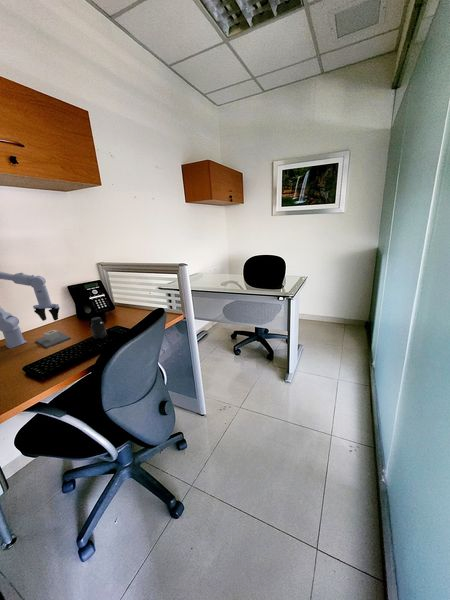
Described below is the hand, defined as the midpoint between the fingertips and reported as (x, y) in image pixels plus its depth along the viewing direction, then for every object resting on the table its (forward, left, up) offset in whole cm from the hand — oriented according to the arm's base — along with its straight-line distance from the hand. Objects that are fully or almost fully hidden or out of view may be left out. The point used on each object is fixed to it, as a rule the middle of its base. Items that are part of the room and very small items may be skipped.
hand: (50, 320), depth 137 cm
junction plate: (+5, -3, -10) cm, 12 cm away
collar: (+5, -3, -9) cm, 11 cm away
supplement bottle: (+29, +12, -11) cm, 33 cm away
